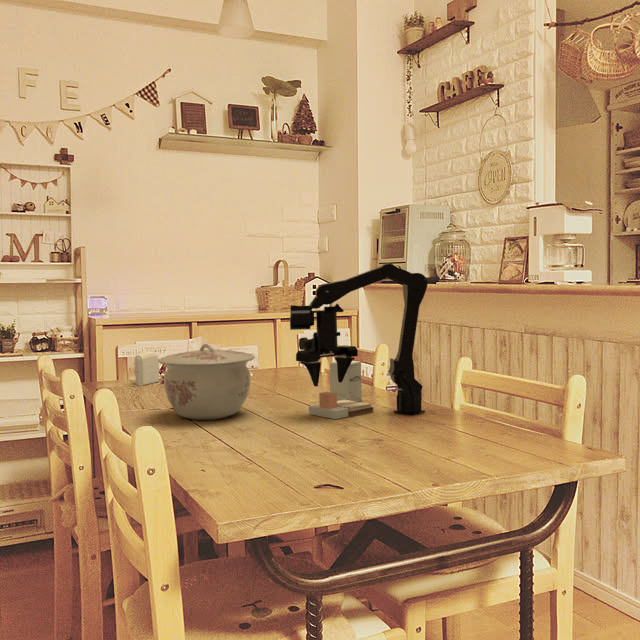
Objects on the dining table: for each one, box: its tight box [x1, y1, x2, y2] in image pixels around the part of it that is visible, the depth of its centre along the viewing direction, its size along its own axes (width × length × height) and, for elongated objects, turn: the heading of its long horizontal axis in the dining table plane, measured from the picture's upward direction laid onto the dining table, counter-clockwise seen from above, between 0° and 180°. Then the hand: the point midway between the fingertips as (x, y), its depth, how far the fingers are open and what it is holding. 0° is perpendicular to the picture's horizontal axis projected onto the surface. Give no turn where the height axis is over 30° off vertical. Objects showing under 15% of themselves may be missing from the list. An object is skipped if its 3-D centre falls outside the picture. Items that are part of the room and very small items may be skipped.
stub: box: [308, 391, 349, 420], centre depth 192 cm, size 11×5×6 cm, turn 42°
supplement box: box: [329, 360, 362, 402], centre depth 213 cm, size 7×7×13 cm
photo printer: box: [134, 350, 160, 387], centre depth 260 cm, size 10×4×12 cm, turn 152°
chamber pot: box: [158, 343, 256, 421], centre depth 196 cm, size 28×28×21 cm
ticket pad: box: [337, 400, 374, 418], centre depth 197 cm, size 12×9×2 cm
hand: (328, 384), depth 192 cm, fingers open, 9 cm apart
